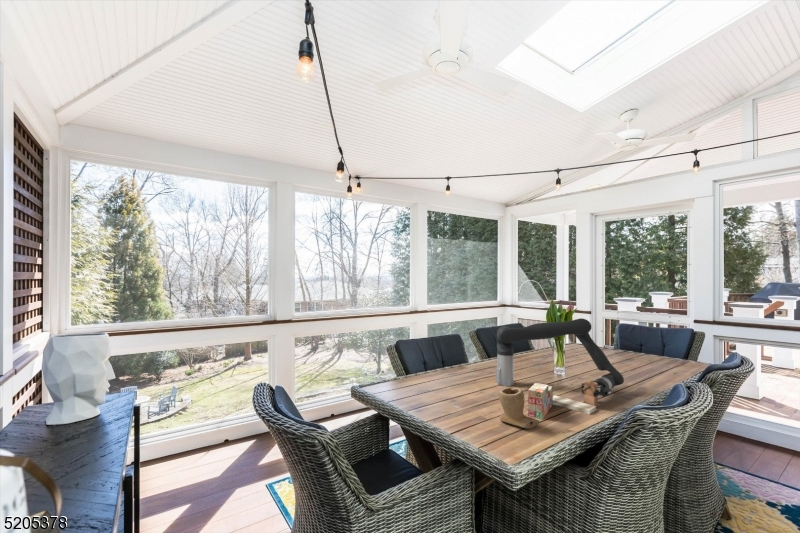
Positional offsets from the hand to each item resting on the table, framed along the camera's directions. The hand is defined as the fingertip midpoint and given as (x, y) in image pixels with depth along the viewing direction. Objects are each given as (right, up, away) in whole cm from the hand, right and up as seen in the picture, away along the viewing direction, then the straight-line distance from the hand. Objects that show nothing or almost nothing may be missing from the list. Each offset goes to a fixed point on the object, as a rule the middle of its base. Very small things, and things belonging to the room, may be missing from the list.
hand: (588, 393), depth 174 cm
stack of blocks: (-25, -7, -4) cm, 26 cm away
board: (-8, -7, +2) cm, 11 cm away
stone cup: (-42, -7, -20) cm, 47 cm away
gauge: (0, -6, 0) cm, 7 cm away
